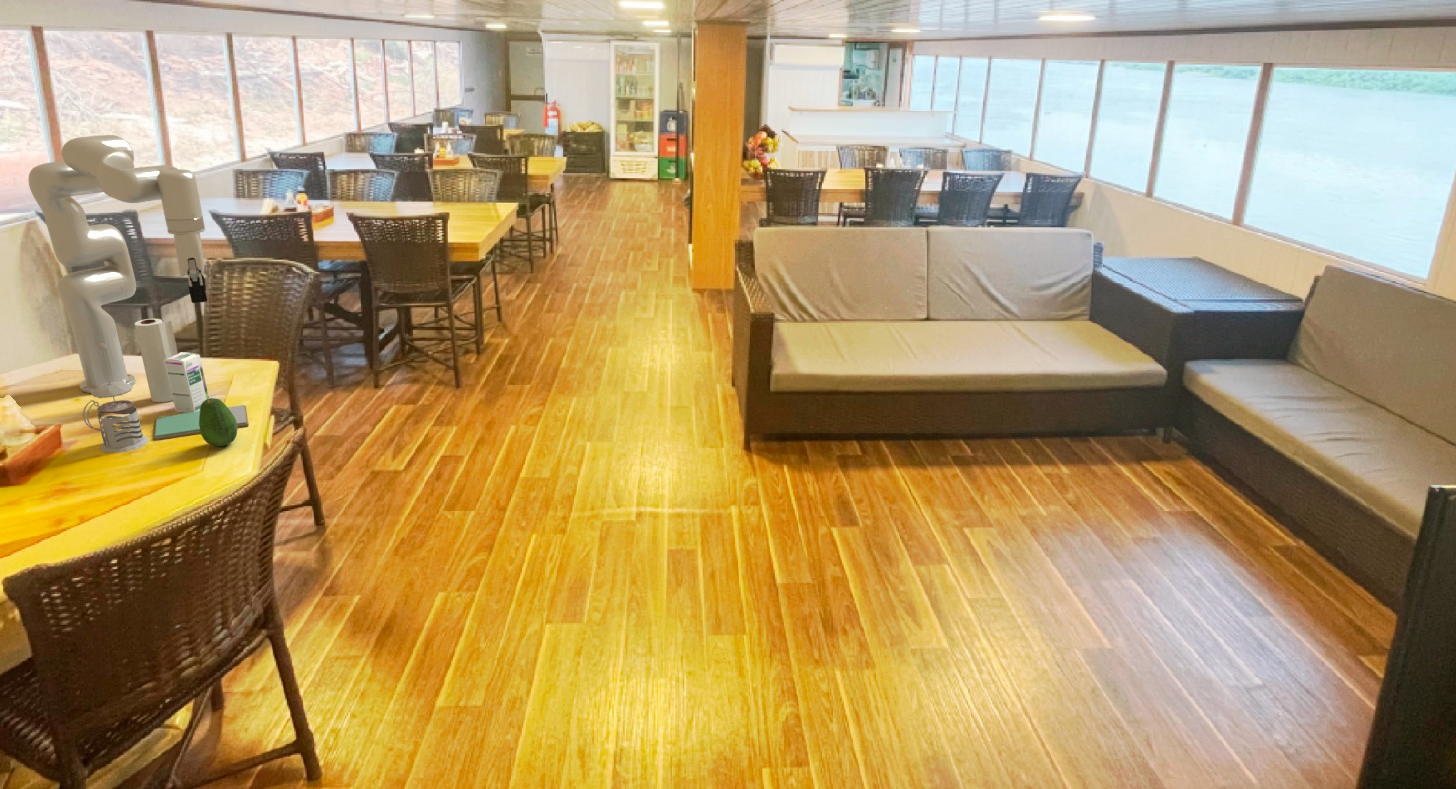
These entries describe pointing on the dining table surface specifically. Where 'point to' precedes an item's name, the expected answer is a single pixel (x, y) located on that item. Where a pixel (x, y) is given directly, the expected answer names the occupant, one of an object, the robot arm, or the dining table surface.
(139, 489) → the dining table surface
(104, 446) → the french press
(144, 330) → the paper towel roll
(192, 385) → the syrup box
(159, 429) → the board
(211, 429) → the avocado
